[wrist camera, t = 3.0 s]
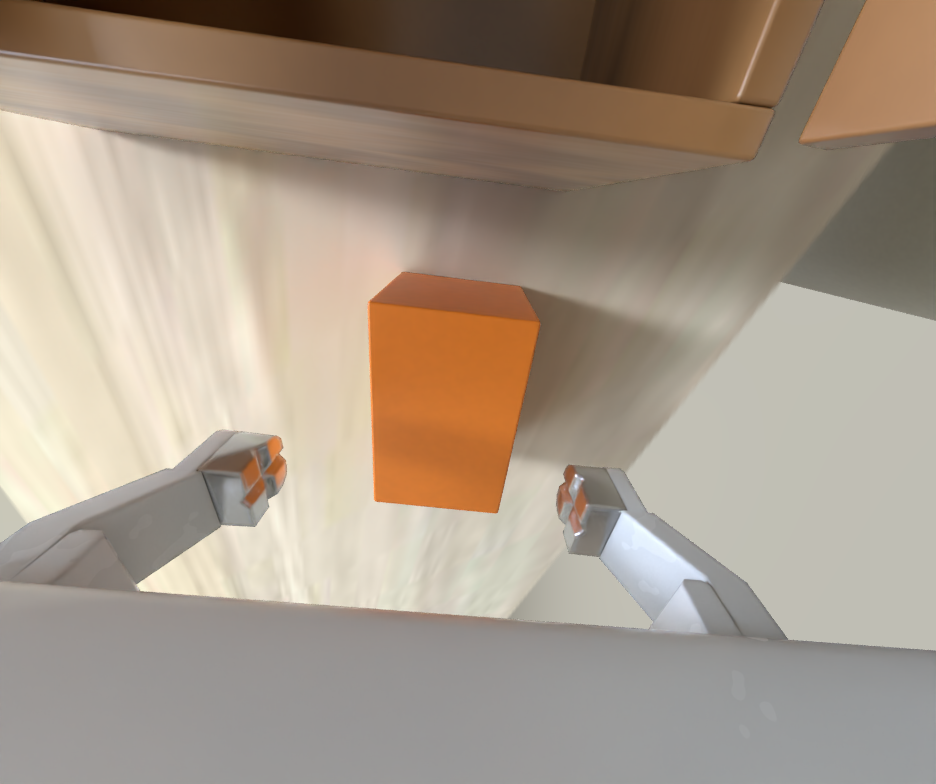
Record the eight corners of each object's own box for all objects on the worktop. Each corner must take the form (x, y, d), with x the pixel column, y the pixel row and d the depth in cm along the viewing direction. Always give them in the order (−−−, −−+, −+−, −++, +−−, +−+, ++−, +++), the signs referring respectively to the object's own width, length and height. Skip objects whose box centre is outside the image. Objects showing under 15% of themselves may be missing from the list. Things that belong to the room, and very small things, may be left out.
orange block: (521, 286, 14) (541, 322, 10) (492, 439, 18) (498, 514, 13) (401, 271, 14) (366, 301, 9) (399, 429, 18) (373, 502, 13)
